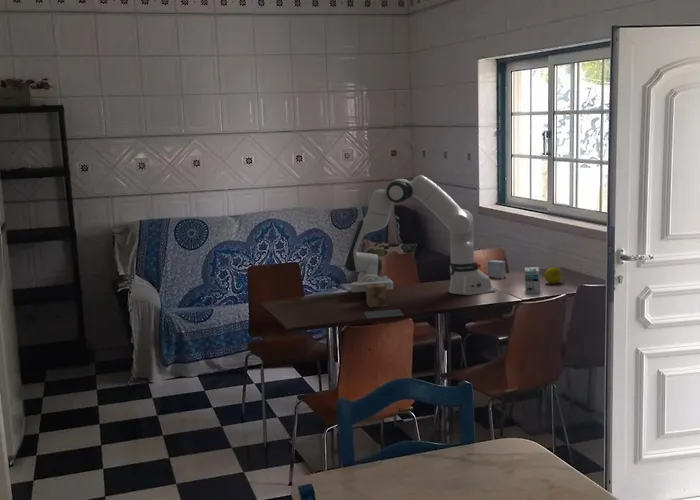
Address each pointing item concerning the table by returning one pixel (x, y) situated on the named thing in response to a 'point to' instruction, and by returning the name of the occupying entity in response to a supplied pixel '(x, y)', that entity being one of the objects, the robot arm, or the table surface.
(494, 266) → the medicine box
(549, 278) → the lemon
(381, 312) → the charcoal mat
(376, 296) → the letter block
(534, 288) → the light bulb box
